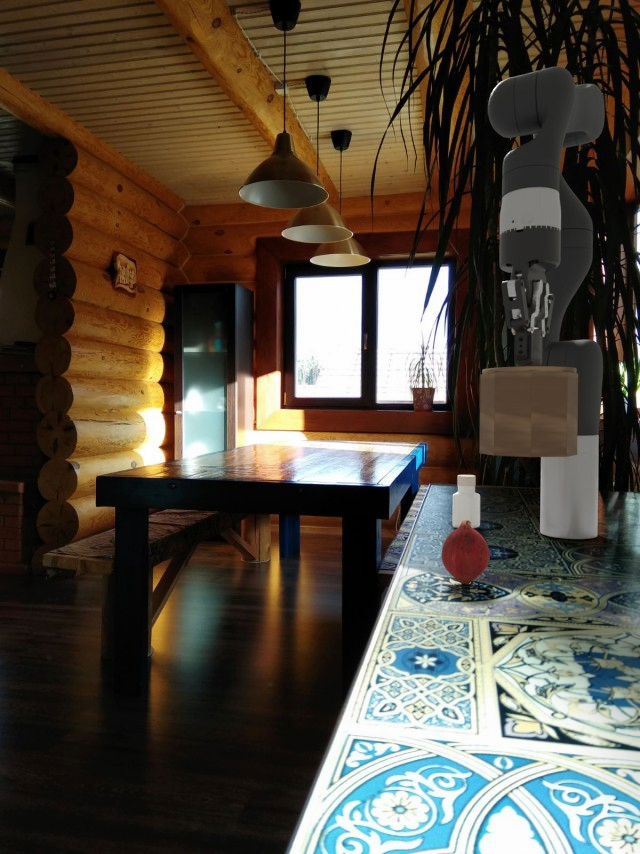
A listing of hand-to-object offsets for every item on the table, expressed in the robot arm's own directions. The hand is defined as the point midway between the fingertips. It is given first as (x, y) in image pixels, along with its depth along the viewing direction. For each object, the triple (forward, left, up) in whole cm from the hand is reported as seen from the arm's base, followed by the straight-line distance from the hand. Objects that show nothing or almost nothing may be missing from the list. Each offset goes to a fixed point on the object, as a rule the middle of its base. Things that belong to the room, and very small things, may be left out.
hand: (528, 364), depth 84 cm
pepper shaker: (-27, -20, -28) cm, 43 cm away
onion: (+9, -4, -28) cm, 30 cm away
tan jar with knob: (0, 0, -12) cm, 12 cm away
